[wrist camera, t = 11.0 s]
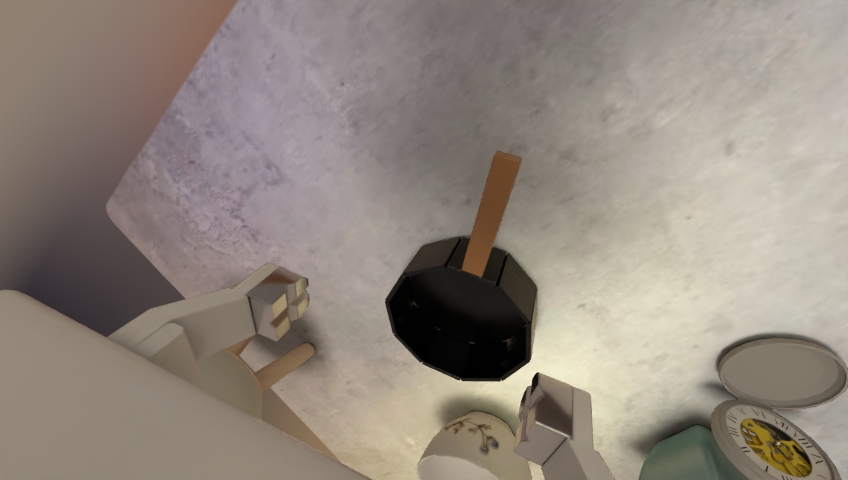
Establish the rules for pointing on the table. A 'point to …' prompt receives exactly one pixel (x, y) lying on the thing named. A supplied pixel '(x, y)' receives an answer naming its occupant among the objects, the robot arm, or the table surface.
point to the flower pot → (689, 458)
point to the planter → (246, 375)
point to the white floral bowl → (473, 452)
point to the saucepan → (469, 296)
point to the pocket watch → (776, 407)
